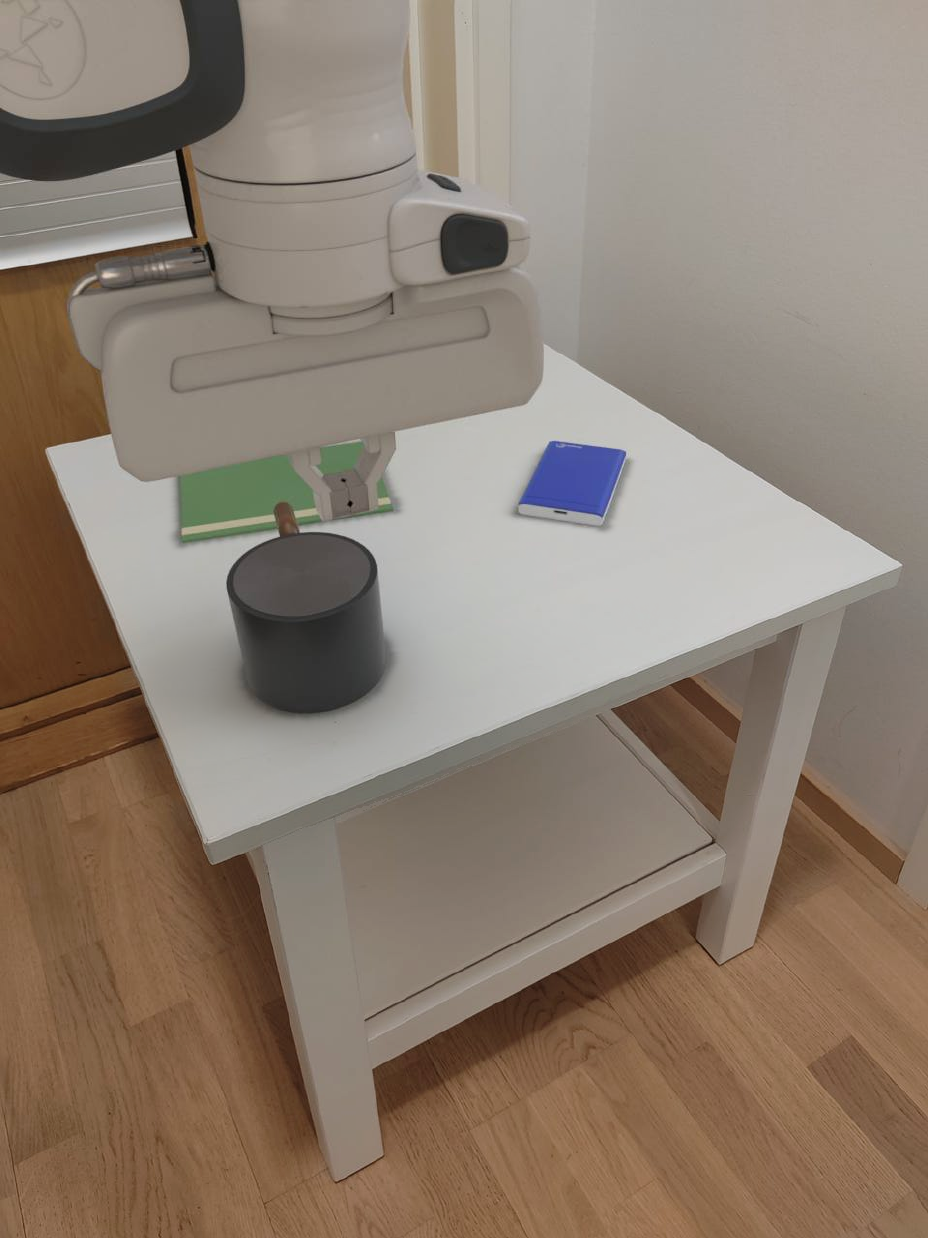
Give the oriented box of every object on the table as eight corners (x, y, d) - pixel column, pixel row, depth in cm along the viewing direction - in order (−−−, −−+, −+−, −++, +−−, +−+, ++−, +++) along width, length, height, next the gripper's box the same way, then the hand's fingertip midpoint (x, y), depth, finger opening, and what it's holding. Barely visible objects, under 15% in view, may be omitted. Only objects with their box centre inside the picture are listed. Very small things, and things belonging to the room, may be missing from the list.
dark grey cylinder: (400, 696, 73) (392, 603, 67) (255, 728, 70) (234, 634, 65) (356, 571, 85) (346, 484, 79) (231, 595, 83) (212, 506, 77)
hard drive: (549, 439, 100) (518, 500, 91) (626, 449, 98) (603, 513, 89) (548, 452, 101) (518, 514, 92) (625, 462, 99) (602, 527, 90)
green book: (182, 543, 89) (181, 539, 89) (179, 470, 100) (179, 466, 99) (393, 511, 93) (392, 507, 92) (368, 443, 103) (368, 439, 103)
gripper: (58, 293, 35) (146, 594, 43) (565, 218, 40) (552, 498, 49) (48, 242, 39) (130, 523, 48) (505, 181, 45) (503, 443, 54)
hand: (347, 510), depth 48 cm, fingers closed
